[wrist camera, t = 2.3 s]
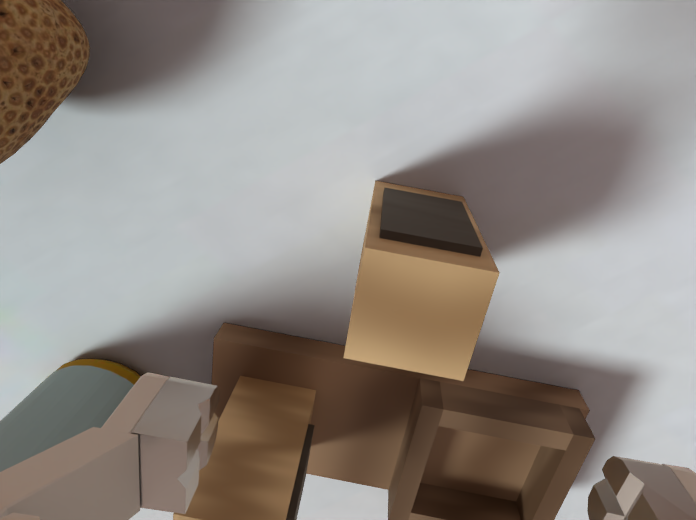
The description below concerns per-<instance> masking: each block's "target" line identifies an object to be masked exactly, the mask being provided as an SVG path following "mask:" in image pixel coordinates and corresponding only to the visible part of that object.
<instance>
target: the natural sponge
mask: <svg viewBox="0 0 696 520" xmlns="http://www.w3.org/2000/svg"><path fill="white" fill-rule="evenodd" d="M89 50H90V46H89V41H88V38H87V36H86V34H85V31H84V29H83V27H82V26H81V24H80V22H79V21H78V20H77V18H76V17H75V16H74V14H73V13H72V12H71V11H70V9H69V8H68V7H67V6H66V5H65V4H64V3H63V2H62V1H61V0H0V164H1V163H2V162H3V161H5V160H6V159H8V158H9V157H10V156H12V155H13V154H15V153H16V152H17V151H18V150H19V149H20V148H21V147H22V146H23V145H24V144H25V143H27V142H28V141H29V140H30V139H31V138H32V137H33V136H34V135H35V134H36V133H37V132H38V130H39V129H40V128H41V127H42V126H43V125H44V124H45V122H46V121H47V120H48V118H49V117H50V116H51V115H52V113H53V112H54V111H55V110H56V109H57V107H58V106H59V105H60V104H61V103H62V102H63V101H64V100H65V99H66V97H67V96H68V95H69V94H70V92H71V91H72V90H73V89H74V88H75V86H76V85H77V84H78V82H79V80H80V78H81V76H82V75H83V73H84V71H85V69H86V67H87V64H88V60H89Z"/></svg>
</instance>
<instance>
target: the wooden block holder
mask: <svg viewBox="0 0 696 520" xmlns="http://www.w3.org/2000/svg"><path fill="white" fill-rule="evenodd" d="M344 352H345V346H343V345H338V344H333V343H328V342H322V341H317V340H312V339H307V338H301V337H296V336H291V335H286V334H281V333H275V332H270V331H265V330H260V329H254V328H249V327H244V326H239V325H233V324H228V323H223V325H222V326H221V328H220V329H219V331H218V333H217V334H216V336H215V337H214V344H213V364H212V384H211V385H216V386H218V387H219V388H220V402H219V404H218V406H217V408H216V410H215V414H216V415H217V417H218V418H219V420H218V430H217V436H216V441H215V444H214V447H213V451H212V454H211V456H210V459H209V461H208V463H207V466H205V467H204V468H202V469H201V470H199V484H198V486H197V489H196V491H195V493H194V495H193V498H192V500H191V502H190V504H189V507H188V509H187V511H186V514H181V513H174V514H173V520H296V519H297V514H298V510H299V505H300V500H301V495H302V491H303V486H304V481H305V477H306V474H311V475H317V476H322V477H327V478H332V479H337V480H342V481H347V482H352V483H357V484H362V485H367V486H372V487H378V488H383V489H388V520H554V519H555V517H556V515H557V513H558V511H559V509H560V507H561V505H562V503H563V501H564V499H565V497H566V495H567V493H568V491H569V489H570V488H571V486H572V484H573V482H574V480H575V478H576V476H577V474H578V472H579V470H580V468H581V466H582V464H583V462H584V460H585V458H586V456H587V454H588V452H589V450H590V448H591V446H592V444H593V442H594V441H595V437H594V435H593V433H592V431H591V429H590V427H589V426H588V424H587V422H586V420H585V419H586V417H587V415H588V413H589V411H590V410H589V408H588V407H587V405H586V403H585V401H584V399H583V397H582V396H581V394H580V392H579V390H574V389H568V388H563V387H558V386H553V385H548V384H542V383H537V382H532V381H527V380H521V379H516V378H511V377H506V376H500V375H495V374H490V373H485V372H479V371H474V370H469V369H467V372H466V375H465V378H464V381H460V380H455V379H450V378H445V377H439V376H434V375H429V374H424V373H419V372H413V371H408V370H403V369H398V368H393V367H387V366H382V365H377V364H372V363H366V362H361V361H356V360H351V359H346V358H344Z"/></svg>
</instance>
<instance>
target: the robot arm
mask: <svg viewBox="0 0 696 520" xmlns="http://www.w3.org/2000/svg"><path fill="white" fill-rule="evenodd" d="M219 402H220V388H219V387H218V386H216V385H211V384H206V383H201V382H196V381H191V380H186V379H181V378H176V377H169V376H164V375H159V374H154V373H149V372H147V373H146V374H144V375H142V376H141V377H140V378H139V379H138V381H137V382H136V383H135V385H134V386H133V387H132V389H131V390H130V391H129V392H128V394H127V395H126V396H125V398H124V399H123V400H122V401H121V403H120V404H119V405H118V407H117V408H116V409H115V411H114V412H113V413H112V414H111V416H110V417H109V418H108V420H107V421H106V422H105V424H104V425H103V426H102V427H101V428H97V427H92V428H90V429H88V430H86V431H84V432H82V433H80V434H78V435H76V436H74V437H72V438H70V439H67V440H65V441H63V442H61V443H59V444H57V445H55V446H53V447H51V448H49V449H47V450H45V451H43V452H41V453H39V454H37V455H34V456H32V457H30V458H28V459H26V460H24V461H22V462H20V463H18V464H16V465H14V466H12V467H10V468H8V469H6V470H4V471H2V472H0V520H129V519H130V518H131V517H132V516H134V515H135V514H136V513H137V512H139V511H140V508H147V509H154V510H161V511H167V512H174V513H181V514H186V511H187V509H188V507H189V504H190V502H191V500H192V498H193V495H194V493H195V491H196V489H197V486H198V484H199V470H201V469H202V468H204V467H205V466H207V463H208V461H209V459H210V456H211V454H212V451H213V447H214V444H215V441H216V436H217V430H218V420H219V418H218V417H217V415H216V414H215V410H216V408H217V406H218V404H219ZM602 471H603V473H604V476H605V479H603V480H602V481H600V482H598V483H596V484H595V485H594V486H593V488H592V490H591V492H590V494H589V497H588V515H589V520H696V473H695V472H693V471H692V470H691V469H689V468H685V467H679V466H672V465H666V464H658V463H652V462H646V461H640V460H634V459H628V458H622V457H616V456H613V457H611V458H610V459H608V460H607V461H606V463H605V465H604V467H603V469H602Z"/></svg>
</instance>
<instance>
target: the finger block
mask: <svg viewBox="0 0 696 520" xmlns="http://www.w3.org/2000/svg"><path fill="white" fill-rule="evenodd" d="M498 276H499V271H498V269H497V267H496V265H495V262H494V260H493V258H492V256H491V254H490V252H489V250H488V248H487V246H486V244H485V241H484V239H483V237H482V235H481V233H480V231H479V229H478V227H477V225H476V223H475V220H474V218H473V216H472V214H471V212H470V210H469V208H468V206H467V204H466V202H465V199H464V197H461V196H456V195H451V194H445V193H440V192H434V191H429V190H423V189H418V188H413V187H407V186H402V185H396V184H391V183H385V182H380V181H375V186H374V191H373V196H372V202H371V207H370V212H369V217H368V222H367V228H366V233H365V238H364V243H363V249H362V254H361V259H360V265H359V271H358V276H357V282H356V288H355V294H354V300H353V305H352V311H351V317H350V323H349V329H348V334H347V340H346V346H345V352H344V358H346V359H351V360H356V361H361V362H366V363H372V364H377V365H382V366H387V367H393V368H398V369H403V370H408V371H413V372H419V373H424V374H429V375H434V376H439V377H445V378H450V379H455V380H460V381H464V378H465V375H466V372H467V369H468V366H469V363H470V360H471V357H472V354H473V351H474V348H475V345H476V342H477V339H478V336H479V333H480V330H481V327H482V324H483V321H484V318H485V315H486V312H487V309H488V306H489V303H490V300H491V297H492V294H493V291H494V288H495V285H496V282H497V279H498Z"/></svg>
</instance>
